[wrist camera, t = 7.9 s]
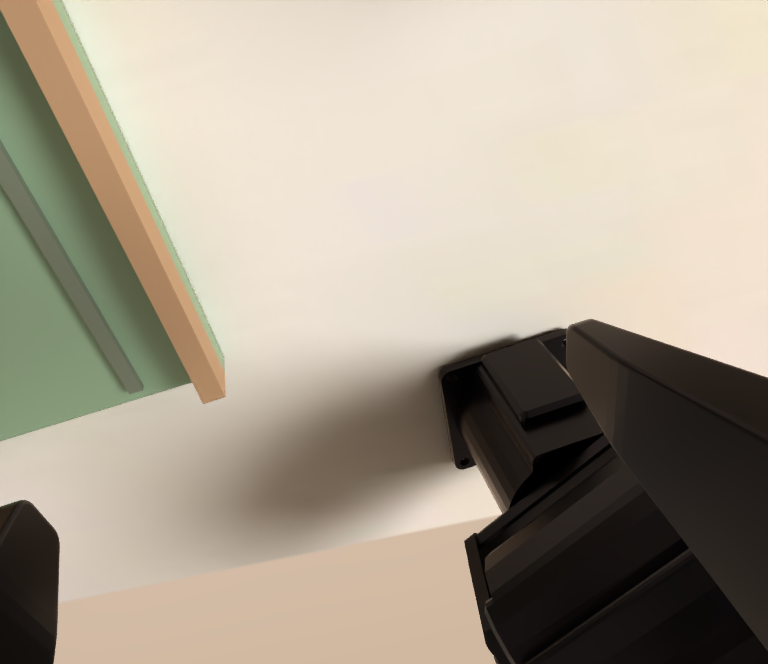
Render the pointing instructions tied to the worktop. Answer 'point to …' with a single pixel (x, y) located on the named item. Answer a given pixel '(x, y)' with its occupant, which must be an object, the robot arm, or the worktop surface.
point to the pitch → (81, 245)
